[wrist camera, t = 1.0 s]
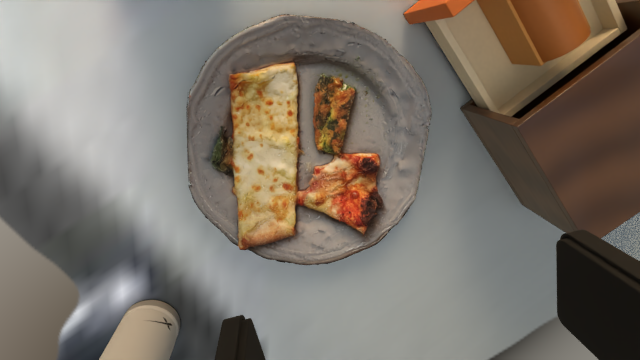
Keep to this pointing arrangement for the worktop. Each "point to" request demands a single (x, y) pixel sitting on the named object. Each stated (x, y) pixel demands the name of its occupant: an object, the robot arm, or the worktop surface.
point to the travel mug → (144, 333)
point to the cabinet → (576, 139)
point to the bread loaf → (536, 28)
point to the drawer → (491, 59)
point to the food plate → (306, 138)
